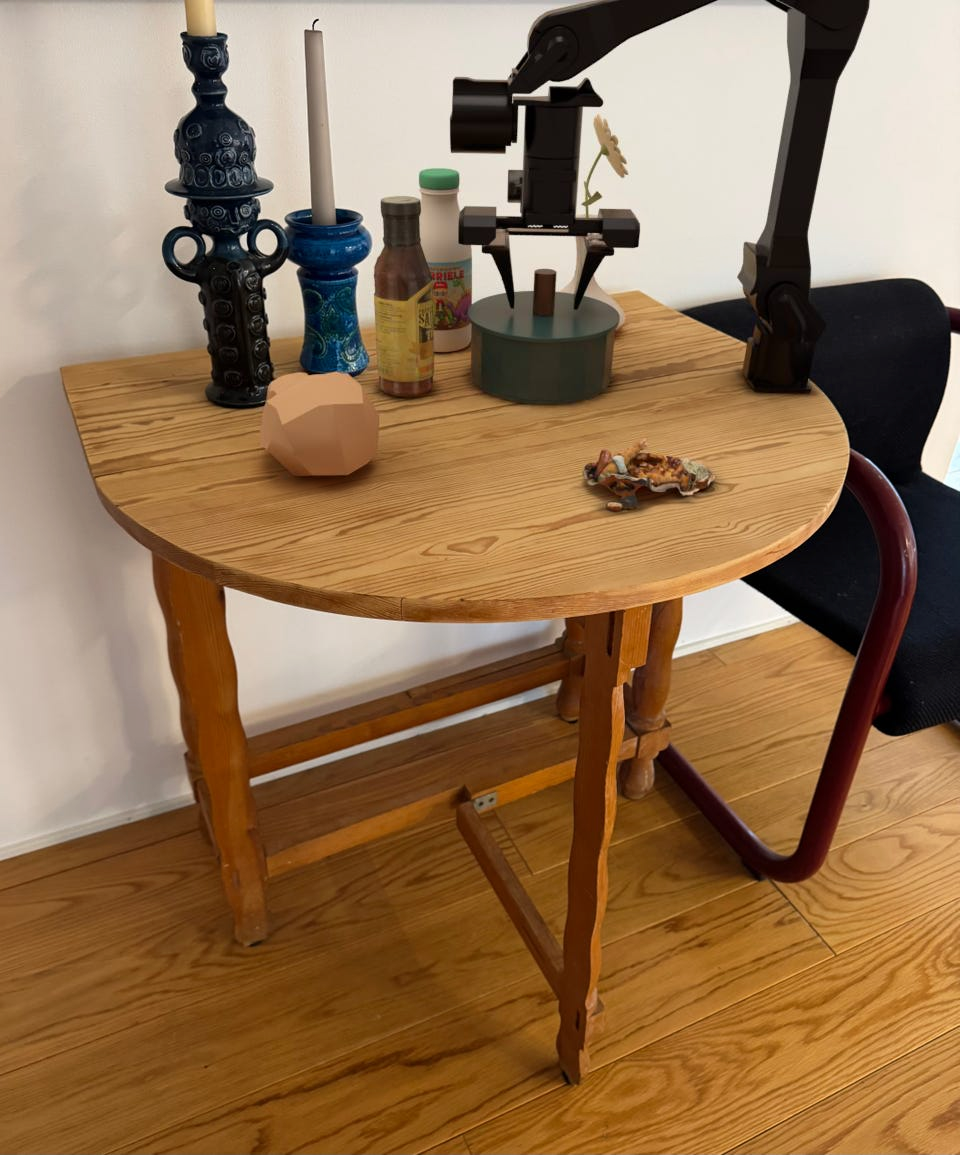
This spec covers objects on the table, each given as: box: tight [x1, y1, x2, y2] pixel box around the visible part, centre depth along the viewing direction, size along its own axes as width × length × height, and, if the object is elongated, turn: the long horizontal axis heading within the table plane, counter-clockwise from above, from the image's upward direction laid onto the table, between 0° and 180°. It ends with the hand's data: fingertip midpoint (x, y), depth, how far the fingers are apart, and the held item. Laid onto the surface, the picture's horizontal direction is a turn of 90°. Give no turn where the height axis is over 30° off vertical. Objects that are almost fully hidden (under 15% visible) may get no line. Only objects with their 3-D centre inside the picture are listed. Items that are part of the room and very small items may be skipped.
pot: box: [470, 324, 616, 405], centre depth 107 cm, size 16×16×7 cm
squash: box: [257, 371, 380, 477], centre depth 90 cm, size 11×20×9 cm, turn 24°
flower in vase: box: [558, 113, 629, 332], centre depth 117 cm, size 13×11×25 cm
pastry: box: [581, 438, 716, 512], centre depth 86 cm, size 7×12×4 cm, turn 114°
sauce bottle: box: [373, 195, 435, 397], centre depth 100 cm, size 6×6×20 cm
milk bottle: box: [418, 167, 473, 353], centre depth 112 cm, size 8×8×20 cm
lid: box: [467, 268, 620, 343], centre depth 104 cm, size 17×17×6 cm
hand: (543, 308), depth 104 cm, fingers open, 7 cm apart
